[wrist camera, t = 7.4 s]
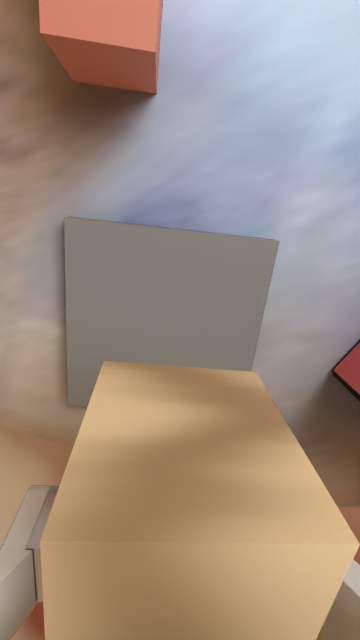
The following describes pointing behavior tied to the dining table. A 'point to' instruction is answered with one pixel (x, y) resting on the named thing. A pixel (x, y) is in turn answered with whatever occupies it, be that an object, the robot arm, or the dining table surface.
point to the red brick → (105, 40)
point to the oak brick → (189, 516)
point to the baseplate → (160, 298)
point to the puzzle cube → (350, 371)
